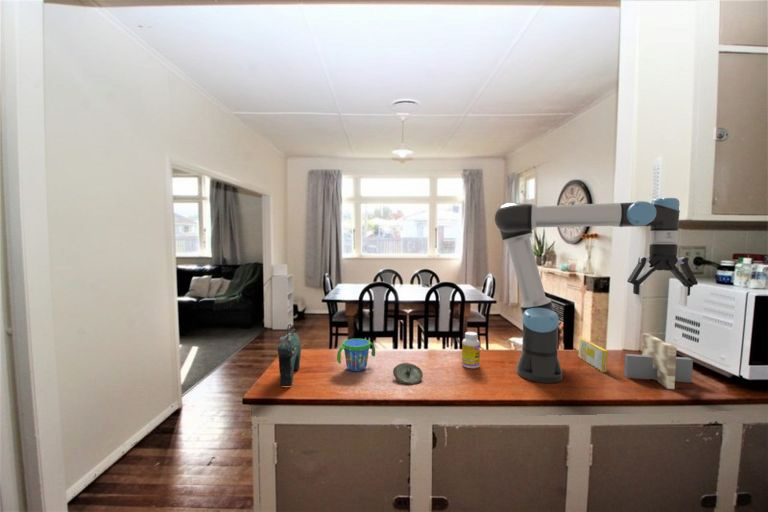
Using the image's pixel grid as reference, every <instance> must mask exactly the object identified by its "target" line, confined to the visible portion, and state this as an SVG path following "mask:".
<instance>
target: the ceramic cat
mask: <svg viewBox="0 0 768 512" xmlns="http://www.w3.org/2000/svg"><path fill="white" fill-rule="evenodd" d="M291 327H292V324H291V323H290V324H288V325H287V328H286V335H285V336H284V335H282V336H280V337H279V339H278V343H277V355H278V367H279V368H278V369H279V378H280V379H279V382H280V387H281V386H291V385H292V386H293V384H292V383H294V371H293V370H297V369H299V370H300V365H301V363H300V362H301V355H302V344H301V340H300V339H301V338H300V336H299V334H298V333H297V329H295V328H293V329H292V330H291V332H289V328H291ZM297 371H298V370H297Z"/></svg>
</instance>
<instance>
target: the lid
mask: <svg viewBox="0 0 768 512" xmlns="http://www.w3.org/2000/svg"><path fill="white" fill-rule="evenodd" d="M392 373H393V377H394V378H395V380H396V381H398V382H399V383H401V384H404V385H415V384H418V383H420V381H422V379H423V376H424V373H423V370H422V369H421V368H420V367H419V366H417V365H416V364H413V363H408V362H401V363H399V364H396V366H394V367H393V369H392Z"/></svg>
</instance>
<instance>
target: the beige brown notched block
mask: <svg viewBox="0 0 768 512" xmlns="http://www.w3.org/2000/svg"><path fill="white" fill-rule="evenodd" d="M641 348H642V349H641V350H642V351H641V355H650V356H652V357H653V367H655V368H657V380H656V382H657V381H658V382H657V383H659V384H660V385H661V386H663V387H664V388H665V389H668V390H675V385H676V381H675V368H676V357H677V347H676V346H674V345H672V344H671V343H668V342H666V341H664V340H662V339H660V338H659V337H657V336H654V335H652V334H650V333H642V347H641Z"/></svg>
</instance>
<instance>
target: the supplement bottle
mask: <svg viewBox="0 0 768 512" xmlns="http://www.w3.org/2000/svg"><path fill="white" fill-rule="evenodd" d="M461 342H462V343H461V345H462V348H461V364H462V367H464V368H467V369H478V368H479V367H480V360H481V359H480V356H481V354H480V353H481V352H480V351H481V342H480V340H478V333H477V332H475V331H466V332H465V333H464V338H463V339H462V341H461Z"/></svg>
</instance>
